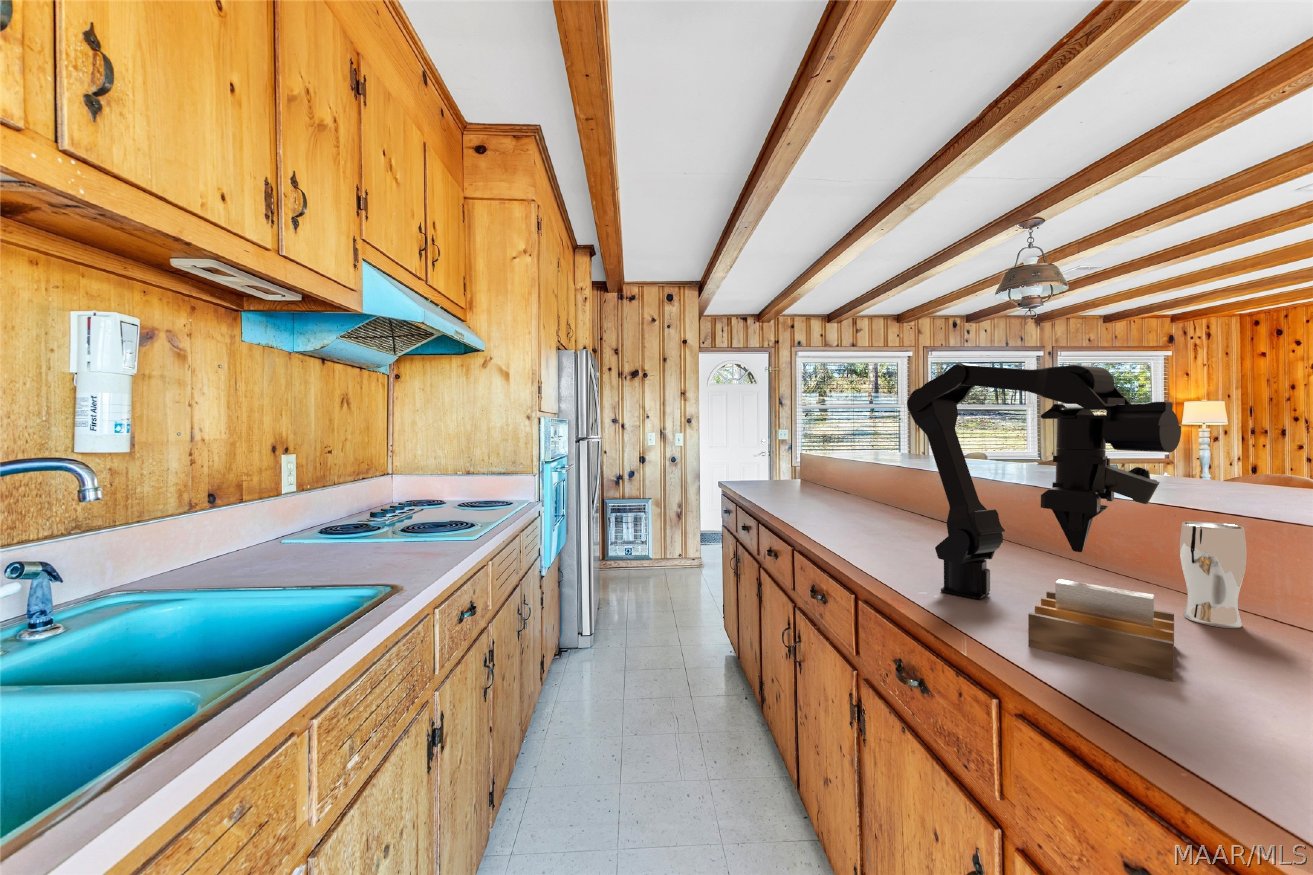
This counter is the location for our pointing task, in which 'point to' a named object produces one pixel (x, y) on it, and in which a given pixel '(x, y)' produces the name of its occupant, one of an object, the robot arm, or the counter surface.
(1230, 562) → the beer glass
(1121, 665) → the walnut rack
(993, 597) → the counter surface
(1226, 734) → the counter surface
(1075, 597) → the aluminium panel
